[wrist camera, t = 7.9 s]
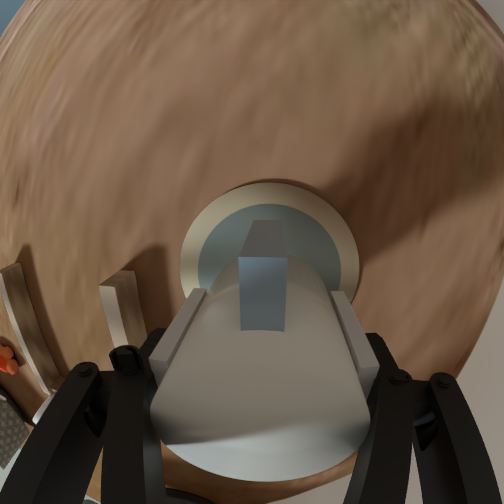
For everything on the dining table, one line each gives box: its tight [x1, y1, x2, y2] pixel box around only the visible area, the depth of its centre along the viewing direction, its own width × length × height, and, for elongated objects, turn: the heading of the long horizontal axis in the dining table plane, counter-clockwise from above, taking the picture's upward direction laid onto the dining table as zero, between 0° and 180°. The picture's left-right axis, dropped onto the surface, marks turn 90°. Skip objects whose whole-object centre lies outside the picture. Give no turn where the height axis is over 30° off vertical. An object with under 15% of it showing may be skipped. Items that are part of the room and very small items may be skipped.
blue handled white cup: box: [150, 220, 370, 481], centre depth 11 cm, size 7×9×9 cm
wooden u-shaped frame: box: [0, 263, 147, 395], centre depth 23 cm, size 18×19×4 cm
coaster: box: [180, 182, 359, 304], centre depth 21 cm, size 14×14×1 cm
